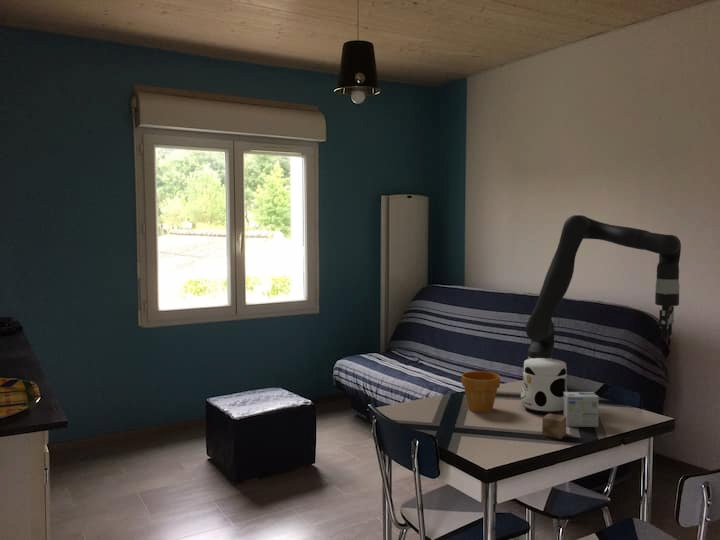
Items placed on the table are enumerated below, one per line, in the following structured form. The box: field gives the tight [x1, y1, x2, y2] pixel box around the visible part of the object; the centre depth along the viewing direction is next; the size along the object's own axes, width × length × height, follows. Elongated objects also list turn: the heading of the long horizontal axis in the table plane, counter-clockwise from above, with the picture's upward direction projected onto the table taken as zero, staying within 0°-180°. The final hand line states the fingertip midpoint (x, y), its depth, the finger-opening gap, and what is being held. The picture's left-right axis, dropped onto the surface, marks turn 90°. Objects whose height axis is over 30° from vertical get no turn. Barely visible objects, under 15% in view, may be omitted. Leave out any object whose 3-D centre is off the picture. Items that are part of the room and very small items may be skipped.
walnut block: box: [541, 413, 567, 440], centre depth 202 cm, size 6×6×6 cm
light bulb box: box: [563, 391, 599, 428], centre depth 213 cm, size 11×7×11 cm, turn 84°
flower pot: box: [461, 370, 501, 413], centre depth 231 cm, size 14×14×13 cm
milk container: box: [520, 358, 569, 414], centre depth 230 cm, size 17×17×18 cm
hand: (666, 337), depth 216 cm, fingers open, 8 cm apart
